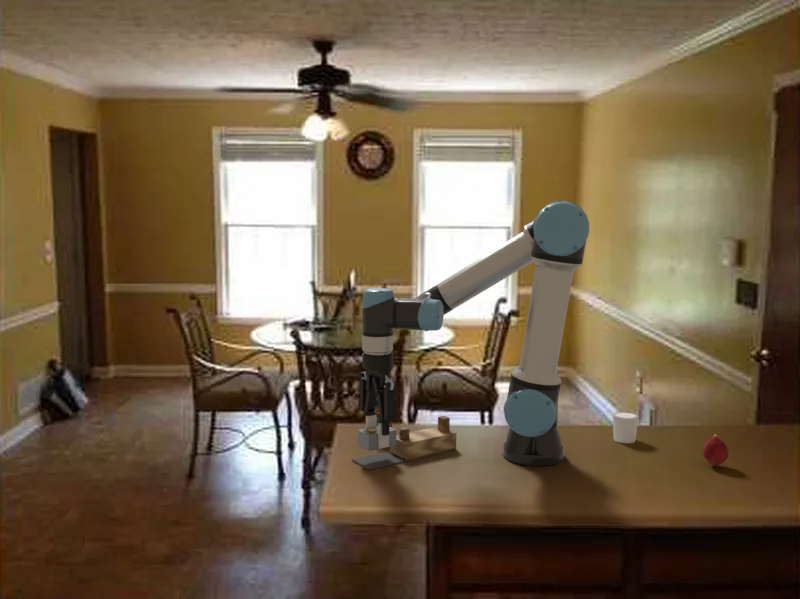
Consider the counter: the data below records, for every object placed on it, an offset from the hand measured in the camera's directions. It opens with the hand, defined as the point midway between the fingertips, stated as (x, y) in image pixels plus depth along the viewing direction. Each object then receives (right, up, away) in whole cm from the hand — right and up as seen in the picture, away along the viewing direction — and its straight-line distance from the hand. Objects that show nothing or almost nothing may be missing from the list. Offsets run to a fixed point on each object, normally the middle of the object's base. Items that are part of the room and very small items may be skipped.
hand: (377, 443), depth 191 cm
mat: (0, -5, +1) cm, 5 cm away
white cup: (+67, -3, +18) cm, 69 cm away
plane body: (+12, -4, +8) cm, 15 cm away
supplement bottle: (+1, -2, +19) cm, 20 cm away
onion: (+83, -5, -2) cm, 83 cm away
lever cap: (0, 0, 0) cm, 0 cm away
